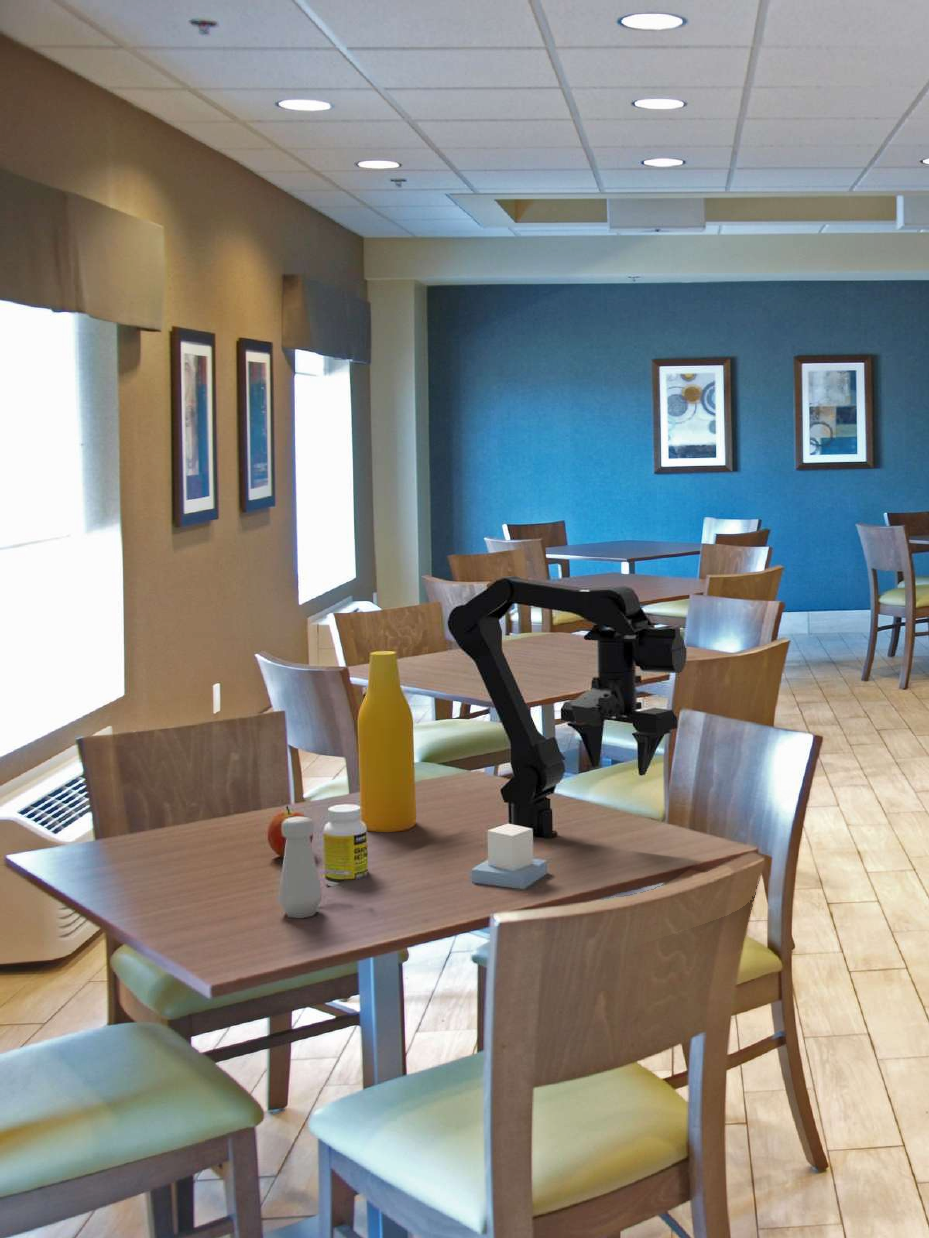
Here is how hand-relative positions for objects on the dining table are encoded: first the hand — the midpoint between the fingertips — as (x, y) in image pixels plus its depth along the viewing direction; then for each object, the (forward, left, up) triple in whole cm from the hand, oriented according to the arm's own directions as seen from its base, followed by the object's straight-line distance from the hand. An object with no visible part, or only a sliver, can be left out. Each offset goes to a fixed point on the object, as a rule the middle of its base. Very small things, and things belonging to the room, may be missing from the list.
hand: (618, 770), depth 210 cm
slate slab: (0, -25, -11) cm, 28 cm away
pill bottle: (-20, -38, -12) cm, 45 cm away
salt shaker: (-15, -51, -12) cm, 55 cm away
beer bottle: (-38, -12, -12) cm, 42 cm away
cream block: (0, -25, -9) cm, 27 cm away
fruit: (-37, -34, -12) cm, 52 cm away
